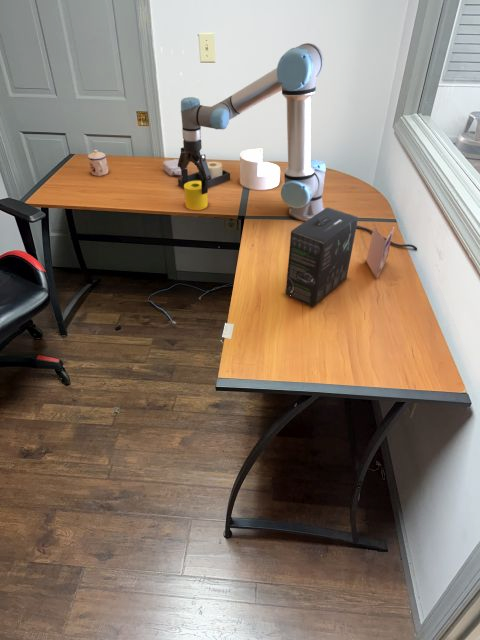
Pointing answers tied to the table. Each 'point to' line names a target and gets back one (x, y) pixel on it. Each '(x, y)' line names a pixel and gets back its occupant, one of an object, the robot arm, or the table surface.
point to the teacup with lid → (98, 163)
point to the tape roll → (195, 196)
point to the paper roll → (215, 169)
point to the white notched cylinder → (257, 171)
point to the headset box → (320, 255)
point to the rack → (211, 182)
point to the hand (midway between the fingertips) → (195, 188)
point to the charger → (172, 167)
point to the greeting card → (378, 251)
